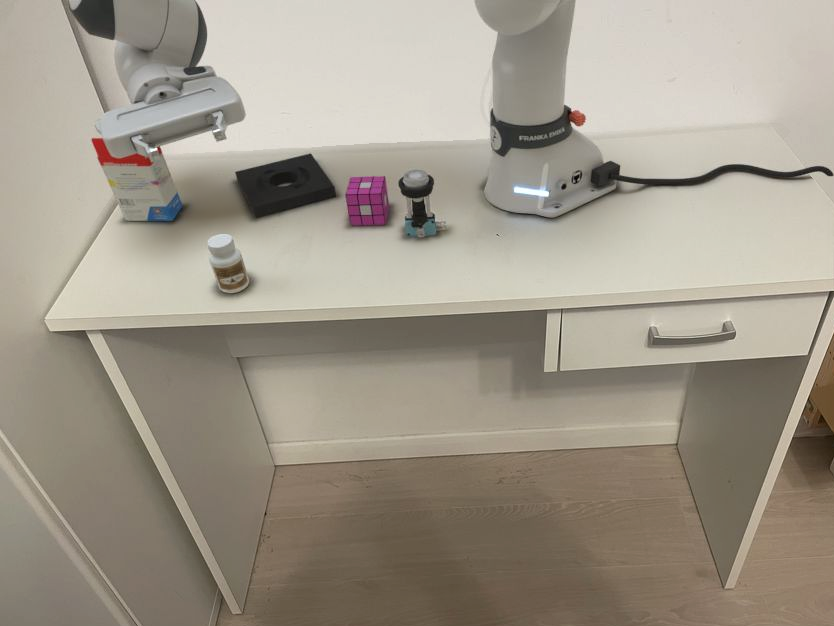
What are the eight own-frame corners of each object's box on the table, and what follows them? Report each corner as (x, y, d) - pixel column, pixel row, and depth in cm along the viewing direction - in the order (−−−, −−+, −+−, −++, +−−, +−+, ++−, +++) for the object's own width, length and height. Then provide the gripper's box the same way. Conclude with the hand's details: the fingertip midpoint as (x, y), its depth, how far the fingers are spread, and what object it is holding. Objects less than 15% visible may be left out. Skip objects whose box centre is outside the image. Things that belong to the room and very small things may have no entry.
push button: (446, 222, 110) (441, 165, 104) (447, 240, 106) (442, 182, 100) (404, 224, 110) (398, 168, 104) (404, 243, 106) (397, 185, 100)
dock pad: (313, 163, 127) (310, 153, 126) (336, 196, 118) (334, 186, 117) (237, 181, 123) (234, 171, 122) (255, 218, 114) (252, 207, 112)
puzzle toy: (350, 226, 111) (344, 194, 107) (355, 207, 115) (350, 176, 111) (385, 225, 110) (381, 193, 107) (389, 206, 115) (385, 175, 111)
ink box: (184, 206, 117) (154, 124, 108) (172, 222, 114) (140, 139, 104) (137, 206, 118) (103, 124, 108) (123, 221, 115) (87, 138, 105)
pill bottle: (223, 297, 98) (207, 252, 93) (216, 281, 101) (200, 237, 96) (253, 288, 99) (239, 243, 94) (245, 272, 102) (231, 228, 97)
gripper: (82, 100, 99) (103, 150, 92) (220, 62, 105) (250, 105, 98) (101, 138, 104) (122, 188, 97) (232, 99, 110) (261, 143, 103)
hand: (188, 146), depth 97 cm, fingers open, 8 cm apart
